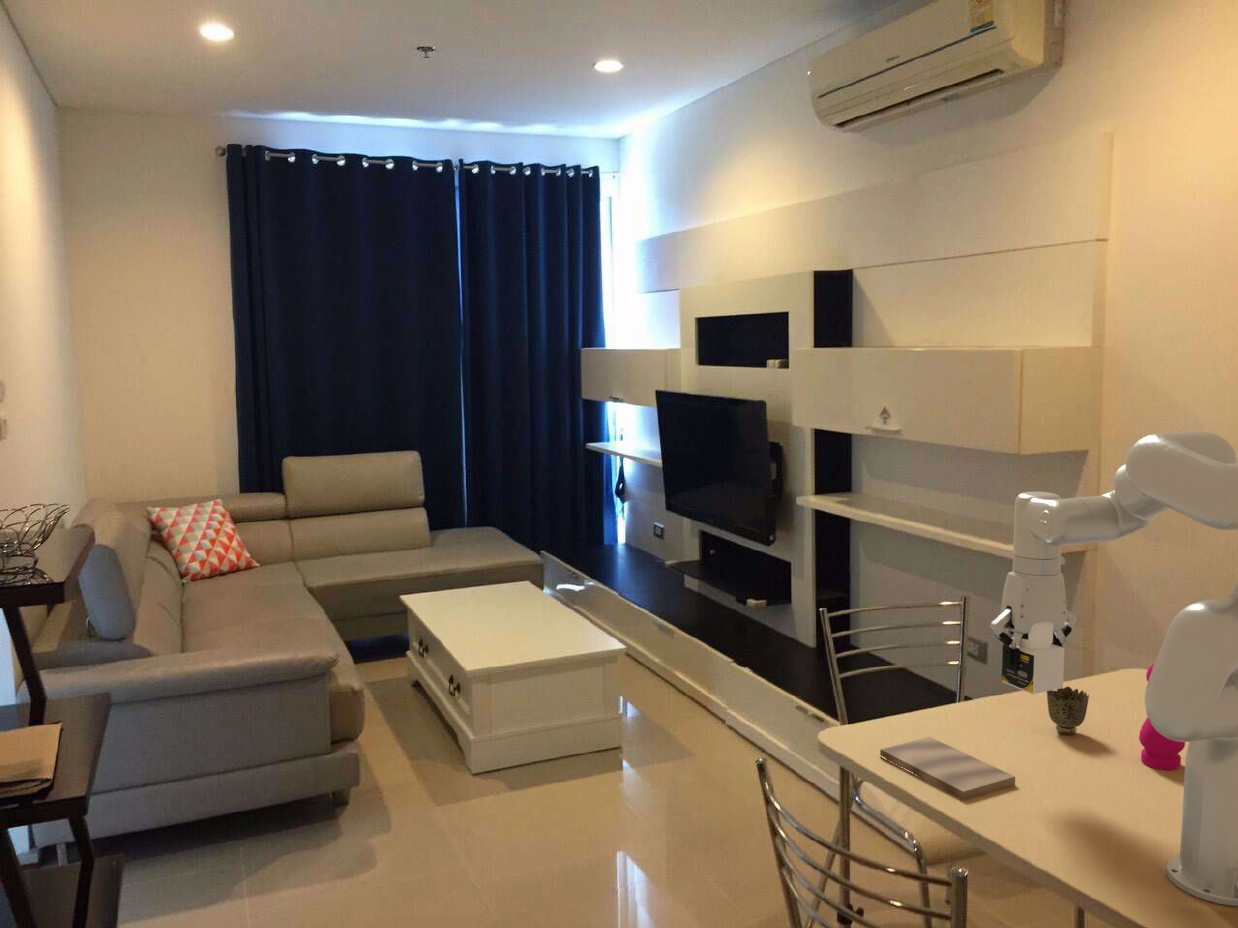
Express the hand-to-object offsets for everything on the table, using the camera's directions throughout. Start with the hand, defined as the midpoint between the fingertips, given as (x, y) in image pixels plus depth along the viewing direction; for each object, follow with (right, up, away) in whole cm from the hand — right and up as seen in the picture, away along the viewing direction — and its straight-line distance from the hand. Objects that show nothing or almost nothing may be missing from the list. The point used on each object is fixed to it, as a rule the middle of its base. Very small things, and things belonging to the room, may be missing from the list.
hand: (1032, 665), depth 177 cm
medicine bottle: (0, -4, 0) cm, 4 cm away
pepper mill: (+26, -19, +8) cm, 33 cm away
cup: (+15, -17, +22) cm, 32 cm away
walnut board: (-13, -20, +6) cm, 24 cm away
